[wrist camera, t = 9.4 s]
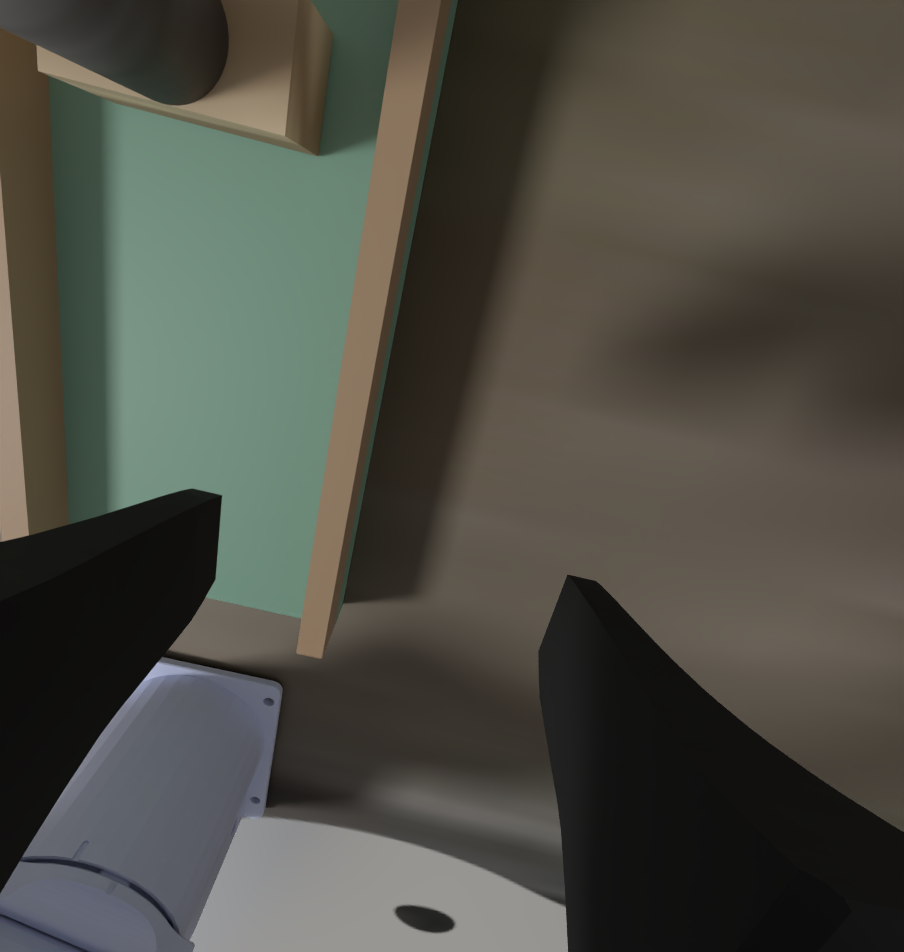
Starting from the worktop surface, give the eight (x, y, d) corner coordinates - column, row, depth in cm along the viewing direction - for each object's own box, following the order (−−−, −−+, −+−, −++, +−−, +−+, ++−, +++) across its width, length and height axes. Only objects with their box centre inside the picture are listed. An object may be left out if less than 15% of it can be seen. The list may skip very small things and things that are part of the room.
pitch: (342, 604, 24) (281, 762, 16) (71, 544, 23) (-119, 680, 16) (566, -568, 12) (719, -1982, 4) (14, -753, 11) (-904, -2755, 4)
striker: (318, 156, 16) (181, 72, 9) (115, 103, 16) (-208, -33, 8) (333, 34, 15) (189, -185, 7) (114, -26, 15) (-261, -316, 7)
